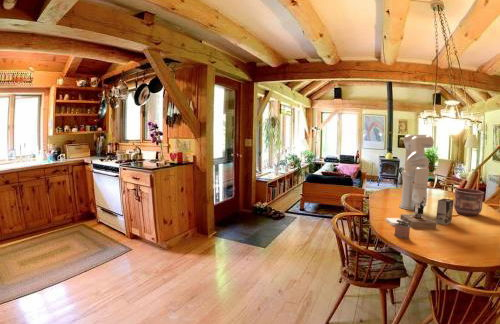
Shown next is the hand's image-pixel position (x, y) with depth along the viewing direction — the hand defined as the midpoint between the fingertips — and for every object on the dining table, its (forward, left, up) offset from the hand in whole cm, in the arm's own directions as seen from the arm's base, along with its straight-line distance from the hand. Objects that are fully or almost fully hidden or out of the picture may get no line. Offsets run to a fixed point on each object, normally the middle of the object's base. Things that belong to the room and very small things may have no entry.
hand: (418, 212), depth 184 cm
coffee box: (-4, +20, -8) cm, 22 cm away
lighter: (+24, -21, -8) cm, 33 cm away
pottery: (-27, +51, -8) cm, 58 cm away
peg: (0, 0, -3) cm, 3 cm away
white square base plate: (0, -14, -8) cm, 17 cm away
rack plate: (0, 0, -8) cm, 8 cm away
